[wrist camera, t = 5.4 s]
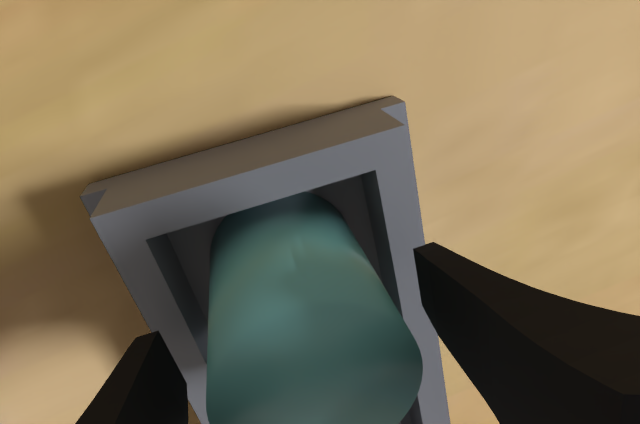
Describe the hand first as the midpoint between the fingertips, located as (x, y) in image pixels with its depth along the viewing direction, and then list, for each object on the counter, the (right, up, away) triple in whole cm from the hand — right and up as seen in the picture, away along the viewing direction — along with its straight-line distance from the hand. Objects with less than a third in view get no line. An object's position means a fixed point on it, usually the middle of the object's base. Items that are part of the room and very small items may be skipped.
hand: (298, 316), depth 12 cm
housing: (0, -2, +6) cm, 6 cm away
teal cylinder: (-1, +1, +3) cm, 3 cm away
